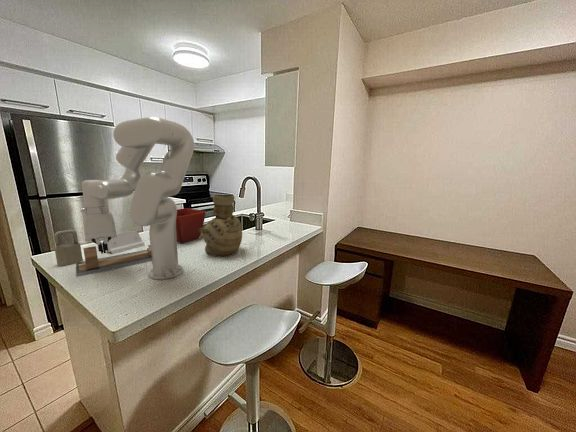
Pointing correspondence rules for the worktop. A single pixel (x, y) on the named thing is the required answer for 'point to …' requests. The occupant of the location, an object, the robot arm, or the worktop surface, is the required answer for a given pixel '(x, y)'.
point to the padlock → (67, 250)
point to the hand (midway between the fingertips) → (103, 252)
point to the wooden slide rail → (112, 266)
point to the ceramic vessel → (222, 228)
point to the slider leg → (91, 257)
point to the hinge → (124, 242)
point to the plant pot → (188, 224)
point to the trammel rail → (120, 259)
